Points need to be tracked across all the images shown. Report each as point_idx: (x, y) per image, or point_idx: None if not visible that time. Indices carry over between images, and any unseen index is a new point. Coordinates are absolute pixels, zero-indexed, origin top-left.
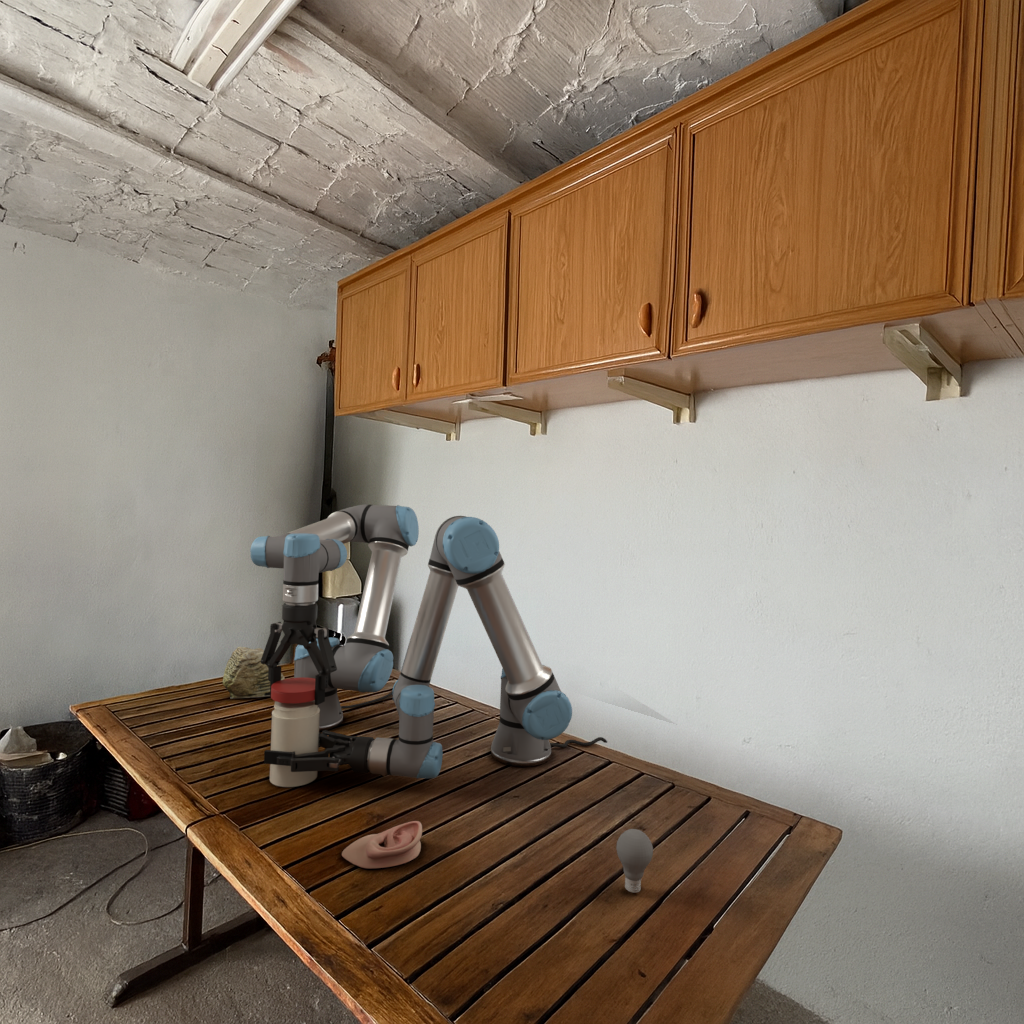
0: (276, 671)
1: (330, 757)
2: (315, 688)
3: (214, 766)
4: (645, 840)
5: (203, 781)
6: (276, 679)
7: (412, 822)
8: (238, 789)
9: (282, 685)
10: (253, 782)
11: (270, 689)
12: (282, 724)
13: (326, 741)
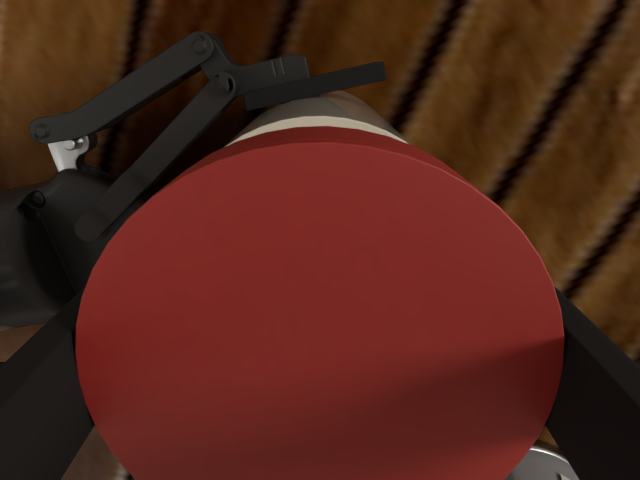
0: (629, 458)
1: (75, 135)
2: (55, 342)
3: (627, 128)
4: None
5: (597, 7)
6: (574, 392)
7: None
8: (435, 5)
9: (442, 315)
10: (419, 77)
11: (566, 300)
12: (308, 112)
13: None
